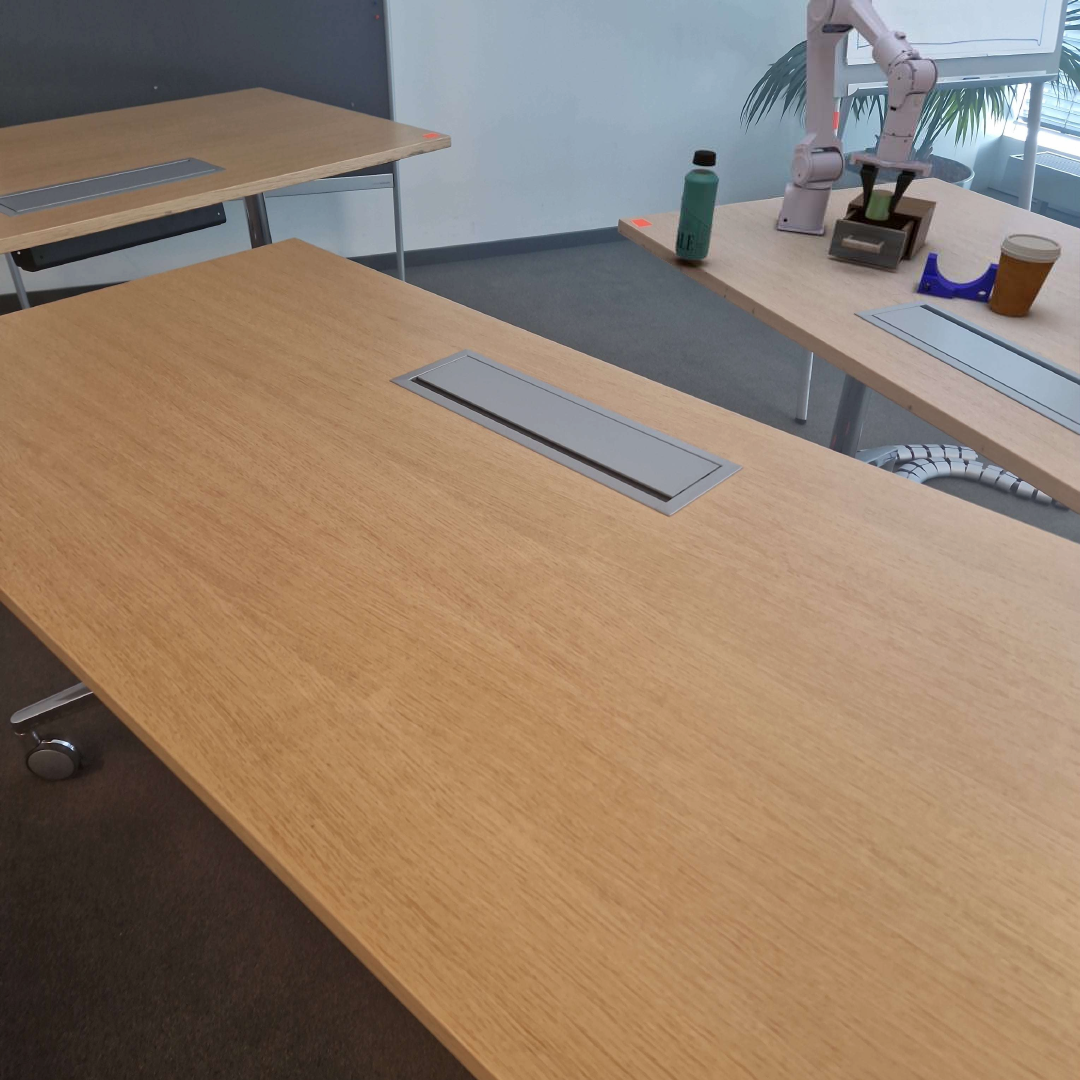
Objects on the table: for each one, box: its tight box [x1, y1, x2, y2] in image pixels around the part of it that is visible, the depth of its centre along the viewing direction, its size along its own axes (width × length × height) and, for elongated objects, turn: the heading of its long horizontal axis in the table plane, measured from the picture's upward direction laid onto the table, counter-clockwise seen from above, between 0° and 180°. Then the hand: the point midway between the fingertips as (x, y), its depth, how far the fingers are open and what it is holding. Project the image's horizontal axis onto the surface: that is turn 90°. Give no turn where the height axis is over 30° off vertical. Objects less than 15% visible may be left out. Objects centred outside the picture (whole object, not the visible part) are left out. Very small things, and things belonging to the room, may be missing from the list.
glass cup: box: [865, 188, 894, 220], centre depth 169 cm, size 4×4×5 cm
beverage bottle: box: [674, 149, 720, 261], centre depth 163 cm, size 6×7×20 cm
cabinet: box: [845, 192, 937, 261], centre depth 180 cm, size 13×14×8 cm
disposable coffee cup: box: [988, 233, 1062, 317], centre depth 152 cm, size 10×10×12 cm
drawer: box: [828, 208, 917, 270], centre depth 171 cm, size 17×13×7 cm
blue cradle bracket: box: [916, 252, 999, 303], centre depth 159 cm, size 12×4×6 cm, turn 65°
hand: (878, 209), depth 169 cm, fingers closed on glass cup, 4 cm apart
